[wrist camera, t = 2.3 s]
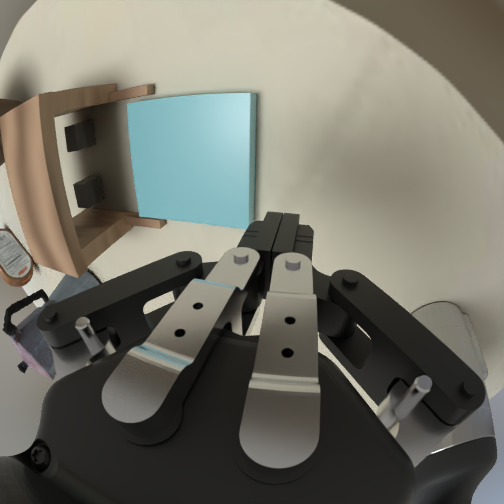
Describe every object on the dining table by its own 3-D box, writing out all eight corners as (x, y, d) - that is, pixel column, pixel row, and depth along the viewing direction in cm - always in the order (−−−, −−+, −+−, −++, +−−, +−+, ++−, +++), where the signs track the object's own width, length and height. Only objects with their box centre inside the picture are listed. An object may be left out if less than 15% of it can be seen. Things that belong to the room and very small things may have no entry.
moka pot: (85, 309, 45) (26, 380, 29) (57, 241, 37) (-24, 314, 21) (119, 322, 43) (58, 407, 27) (92, 249, 35) (0, 340, 19)
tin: (5, 229, 42) (-19, 248, 35) (5, 220, 41) (-21, 239, 34) (40, 272, 45) (15, 295, 38) (40, 264, 43) (14, 288, 36)
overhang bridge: (153, 75, 21) (70, 79, 12) (167, 231, 30) (111, 288, 21) (68, 98, 23) (-1, 117, 15) (88, 221, 32) (34, 262, 24)
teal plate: (257, 93, 20) (250, 93, 18) (255, 218, 27) (248, 229, 25) (141, 101, 23) (126, 103, 21) (151, 207, 29) (139, 216, 27)
